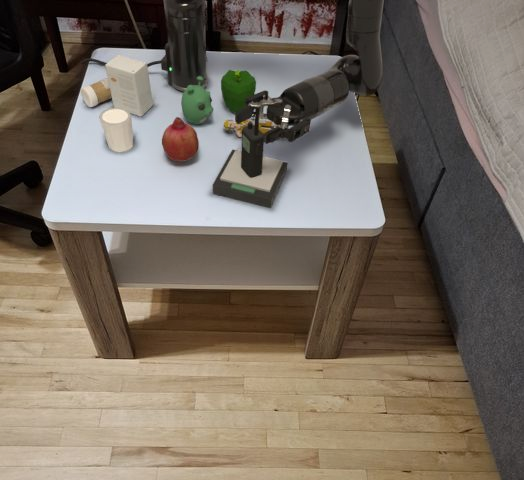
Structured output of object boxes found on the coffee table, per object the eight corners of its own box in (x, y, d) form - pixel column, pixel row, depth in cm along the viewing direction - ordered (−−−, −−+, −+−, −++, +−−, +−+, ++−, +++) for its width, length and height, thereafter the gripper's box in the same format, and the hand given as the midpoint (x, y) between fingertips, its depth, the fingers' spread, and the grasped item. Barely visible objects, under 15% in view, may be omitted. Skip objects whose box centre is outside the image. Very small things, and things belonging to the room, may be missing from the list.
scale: (212, 193, 108) (212, 182, 105) (232, 158, 115) (232, 146, 112) (270, 208, 106) (271, 197, 104) (286, 171, 113) (288, 160, 111)
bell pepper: (231, 95, 129) (231, 54, 121) (259, 104, 127) (261, 64, 119) (214, 111, 125) (213, 70, 116) (244, 121, 123) (245, 80, 115)
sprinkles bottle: (136, 92, 128) (91, 111, 123) (125, 78, 128) (79, 97, 123) (138, 79, 124) (91, 98, 119) (126, 64, 124) (79, 83, 119)
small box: (153, 106, 124) (148, 62, 116) (141, 117, 121) (134, 73, 113) (126, 97, 126) (118, 53, 117) (113, 108, 123) (104, 64, 114)
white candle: (130, 155, 113) (124, 127, 107) (100, 150, 114) (93, 122, 108) (140, 138, 117) (135, 109, 111) (111, 133, 117) (105, 104, 112)
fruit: (158, 166, 112) (153, 125, 103) (170, 145, 116) (166, 104, 108) (193, 173, 111) (191, 132, 103) (204, 152, 115) (202, 111, 107)
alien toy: (204, 134, 119) (202, 93, 111) (177, 124, 121) (173, 83, 112) (219, 120, 123) (218, 79, 114) (192, 110, 124) (190, 69, 116)
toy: (287, 138, 117) (223, 132, 115) (284, 145, 122) (222, 139, 120) (289, 115, 116) (224, 108, 115) (286, 123, 122) (224, 116, 120)
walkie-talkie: (239, 166, 109) (241, 99, 96) (253, 162, 110) (256, 95, 97) (250, 179, 106) (254, 112, 94) (264, 174, 108) (269, 108, 95)
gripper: (285, 68, 105) (226, 94, 99) (335, 98, 100) (276, 128, 94) (282, 102, 112) (226, 129, 105) (328, 132, 106) (273, 162, 100)
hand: (250, 128), depth 99 cm, fingers open, 8 cm apart
